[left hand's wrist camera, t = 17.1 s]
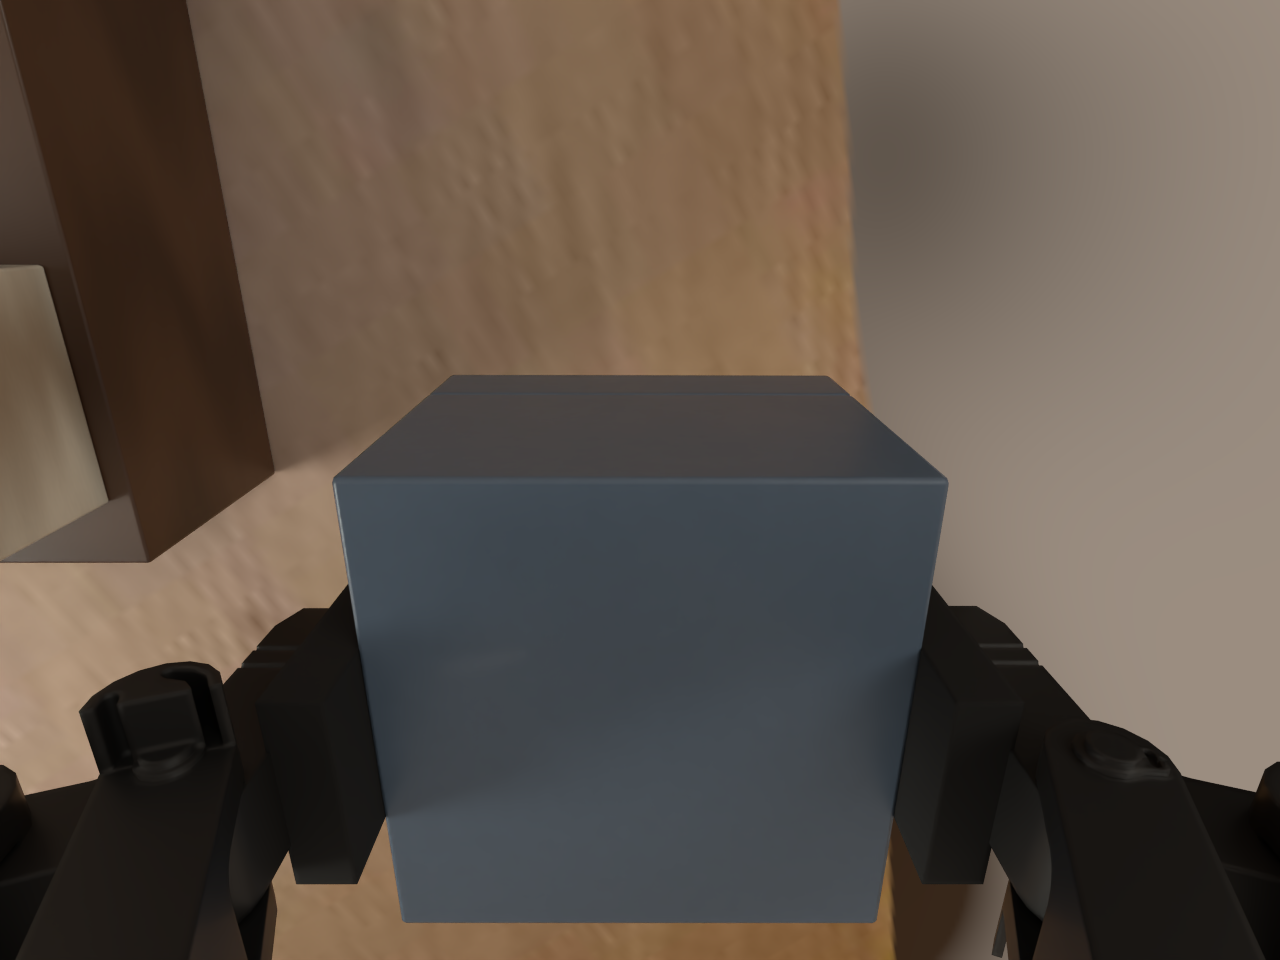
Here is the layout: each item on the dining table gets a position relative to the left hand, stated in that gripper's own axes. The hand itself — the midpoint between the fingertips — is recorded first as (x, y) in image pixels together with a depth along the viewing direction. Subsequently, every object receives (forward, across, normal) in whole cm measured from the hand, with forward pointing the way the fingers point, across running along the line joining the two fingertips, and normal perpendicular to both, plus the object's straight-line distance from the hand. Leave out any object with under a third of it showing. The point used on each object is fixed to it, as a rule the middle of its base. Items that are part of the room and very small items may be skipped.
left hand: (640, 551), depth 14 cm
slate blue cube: (0, 0, 0) cm, 0 cm away
